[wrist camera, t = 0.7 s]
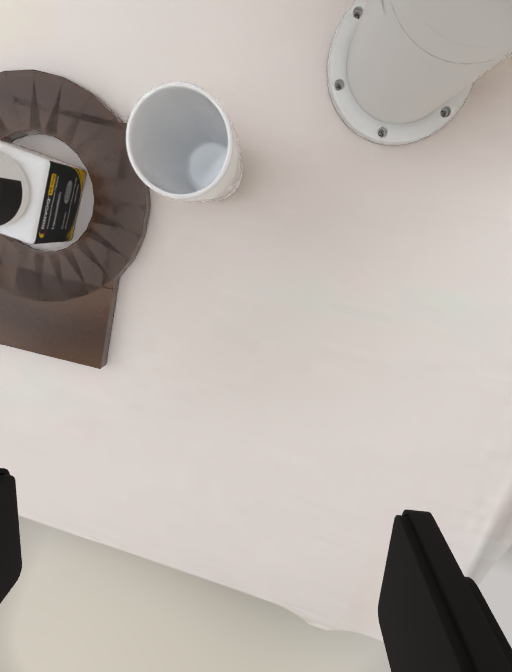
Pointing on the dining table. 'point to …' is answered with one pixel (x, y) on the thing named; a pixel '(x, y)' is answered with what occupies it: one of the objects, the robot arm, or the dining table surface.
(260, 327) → the dining table surface
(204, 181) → the drinking glass
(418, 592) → the robot arm
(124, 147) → the holder board
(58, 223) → the medicine bottle
